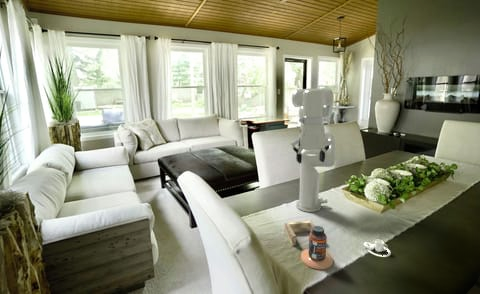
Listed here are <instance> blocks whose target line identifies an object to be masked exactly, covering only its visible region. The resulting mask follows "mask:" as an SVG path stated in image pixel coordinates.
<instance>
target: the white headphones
mask: <svg viewBox="0 0 480 294" xmlns="http://www.w3.org/2000/svg"><path fill="white" fill-rule="evenodd" d="M363 247H365V249H366V250H367V251H368V252H369V253H370V254H372V255H374V256H376V257H381V258H387V257H390V256H391V254H392V253H391V250H390V249H389V248H388V244H386V243H385V242H384V240H382V239H378V238H377V239H375V240H374V243H371V242H367V241H364V243H363ZM373 250H374V251H376V252H377V253H374V252H373ZM386 250H387V251H386ZM384 251H386V252H388V254H387V253H386V254H387V255H386V254H378V253H381V252H384ZM382 255H383V256H382Z"/></svg>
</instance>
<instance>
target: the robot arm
mask: <svg viewBox="0 0 480 294" xmlns="http://www.w3.org/2000/svg"><path fill="white" fill-rule="evenodd" d="M334 98H335V97H334V92H333V90H332V89H331V88H300V89H299V88H298V89H294V90H293V93H292V95H291V102H292V105H293V107H295V108H299V110H298V116H299V117H298V119H299V120H298V121H299V123H300V127H299V131H298V138H297V139H295V140H293V141H291V142H290V147H291V149H292V150H293V151H294V152H295V153H296V159H295V160H296V161H297V163H298V164H299V200H297V202H296V203H295V206H296V208H297V209H299V211H303V212H307V213H315V212H318V211H320V210H321V209H322V204H328V199H323V198H322V197H321V198H320V197H319V195H320V194H319V193H320V174H319V171H318V170H317V169H316V167H317V168H318V167H319V168H332V167H334V166H335V164H336V161H337V159H336V158H337V156H336V142H335V136H334V134H333V133H331V132H327V131H325V125H324V124H325V123H322V122H323V120H328V119H330V118H331V117H332V114H333V108H334V102H335V101H334V100H335V99H334ZM296 145H297V146H298V147H296Z"/></svg>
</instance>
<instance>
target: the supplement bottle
mask: <svg viewBox="0 0 480 294" xmlns="http://www.w3.org/2000/svg"><path fill="white" fill-rule="evenodd" d="M327 237H328V236H327V234H326V233H325V227H323V226H321V225H315V226H314V227H313V228H312V232H310V231H309V235H308V249H309V257H310V258H311V259H313V260H315V261H323V260H324V259H325V257H326V252H327V241H328V239H327Z"/></svg>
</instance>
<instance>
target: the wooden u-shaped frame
mask: <svg viewBox="0 0 480 294" xmlns="http://www.w3.org/2000/svg"><path fill="white" fill-rule="evenodd" d="M314 226H316V225H315V223H314V222H313V221H312V220H303V221H301V220H300V221H291V222H289V221H288V222H284V233H285V236H286V237H287V238H288V241H289V242H290V244H291V246H297V235H296V234H295V233H302V232H309V233H310V232H312V228H313V227H314Z"/></svg>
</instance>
